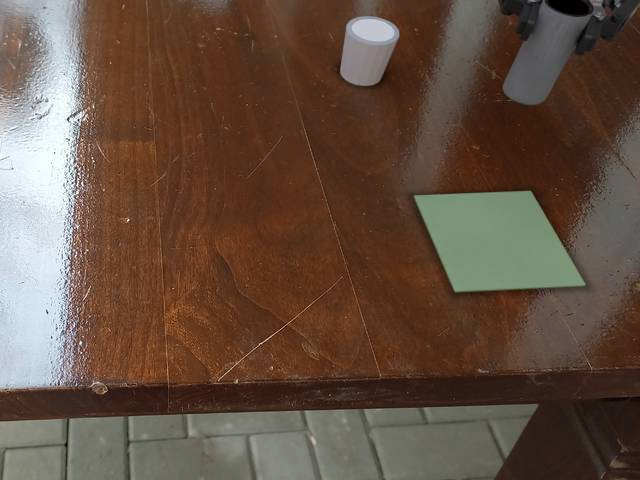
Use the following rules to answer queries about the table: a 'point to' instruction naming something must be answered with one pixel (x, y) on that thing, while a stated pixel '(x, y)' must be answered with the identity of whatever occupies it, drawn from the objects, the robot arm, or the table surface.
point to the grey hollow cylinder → (546, 49)
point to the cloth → (496, 242)
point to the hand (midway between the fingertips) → (555, 38)
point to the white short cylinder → (367, 49)
